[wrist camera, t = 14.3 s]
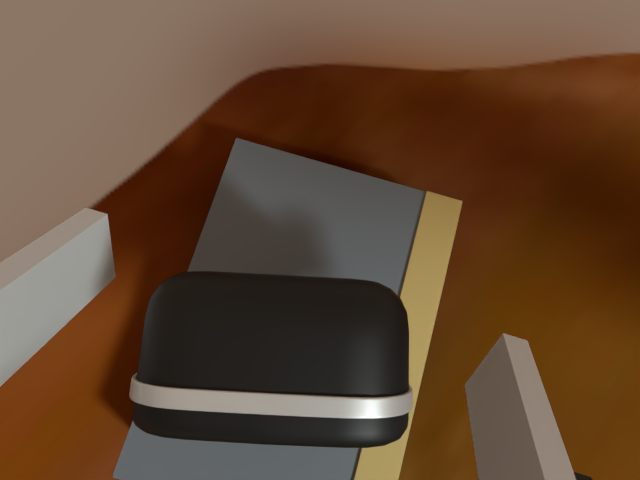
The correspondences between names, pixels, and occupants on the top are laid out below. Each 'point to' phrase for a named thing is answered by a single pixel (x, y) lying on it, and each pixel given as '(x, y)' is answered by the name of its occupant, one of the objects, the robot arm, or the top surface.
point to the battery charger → (274, 361)
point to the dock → (315, 261)
